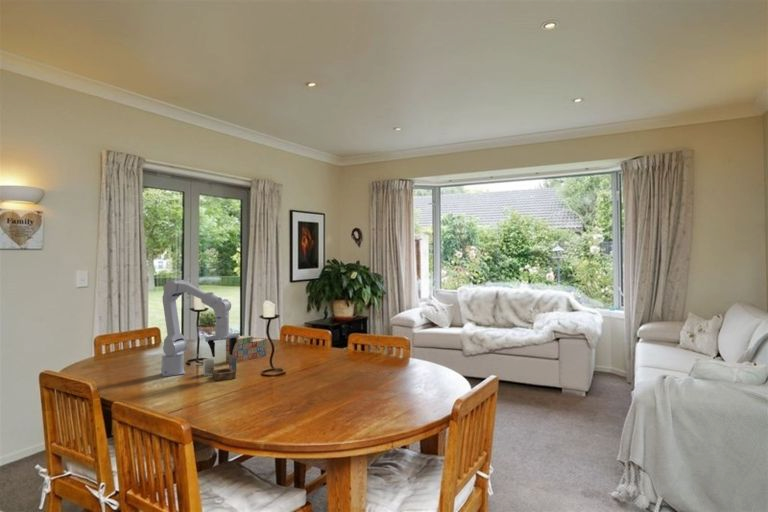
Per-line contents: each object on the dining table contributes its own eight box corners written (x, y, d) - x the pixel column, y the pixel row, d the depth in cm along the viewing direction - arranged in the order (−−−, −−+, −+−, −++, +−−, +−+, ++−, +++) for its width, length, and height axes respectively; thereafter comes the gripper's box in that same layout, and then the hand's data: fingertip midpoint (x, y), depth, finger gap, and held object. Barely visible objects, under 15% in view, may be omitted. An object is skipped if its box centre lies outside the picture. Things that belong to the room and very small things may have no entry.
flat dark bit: (232, 372, 205) (232, 358, 205) (229, 370, 210) (229, 355, 210) (236, 372, 206) (236, 357, 206) (233, 369, 211) (233, 355, 211)
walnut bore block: (216, 381, 192) (216, 374, 192) (212, 376, 199) (212, 370, 199) (235, 378, 196) (235, 371, 196) (231, 373, 203) (231, 367, 203)
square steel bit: (204, 376, 200) (204, 361, 200) (203, 374, 203) (203, 359, 203) (213, 374, 202) (213, 359, 202) (212, 372, 205) (212, 358, 205)
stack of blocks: (259, 354, 244) (259, 332, 244) (266, 355, 240) (266, 333, 240) (225, 361, 227) (225, 338, 227) (232, 363, 223) (232, 339, 223)
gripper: (207, 328, 192) (207, 359, 192) (240, 326, 200) (240, 355, 200) (204, 326, 198) (204, 356, 198) (236, 323, 205) (236, 352, 205)
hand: (222, 355), depth 199 cm, fingers open, 7 cm apart
